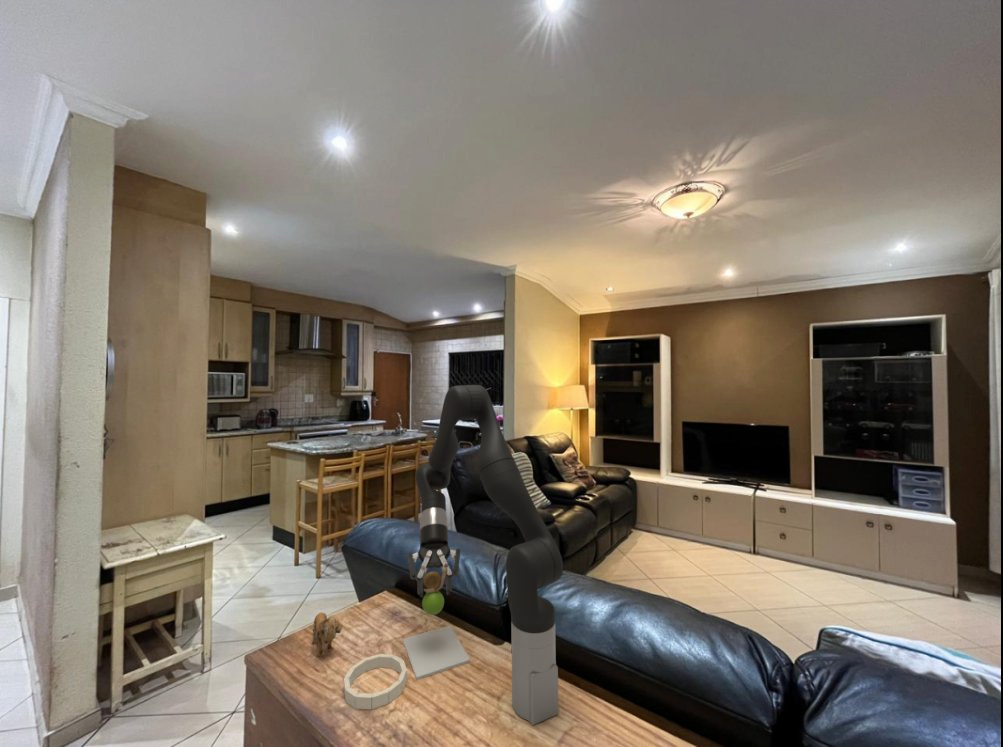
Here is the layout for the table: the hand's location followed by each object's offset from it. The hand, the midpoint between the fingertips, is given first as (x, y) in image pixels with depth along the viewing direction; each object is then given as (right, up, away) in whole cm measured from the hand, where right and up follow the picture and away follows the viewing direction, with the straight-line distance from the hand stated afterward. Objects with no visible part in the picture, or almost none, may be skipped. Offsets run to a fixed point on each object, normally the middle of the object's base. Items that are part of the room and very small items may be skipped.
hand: (434, 594), depth 98 cm
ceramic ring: (-12, -15, -10) cm, 21 cm away
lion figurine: (-29, -15, +4) cm, 33 cm away
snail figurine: (0, -6, +2) cm, 6 cm away
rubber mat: (0, -15, +1) cm, 15 cm away
